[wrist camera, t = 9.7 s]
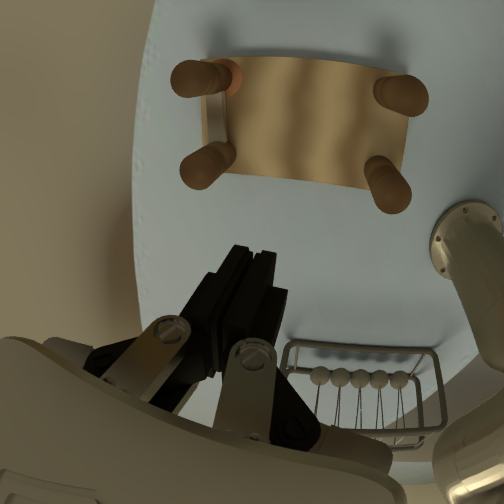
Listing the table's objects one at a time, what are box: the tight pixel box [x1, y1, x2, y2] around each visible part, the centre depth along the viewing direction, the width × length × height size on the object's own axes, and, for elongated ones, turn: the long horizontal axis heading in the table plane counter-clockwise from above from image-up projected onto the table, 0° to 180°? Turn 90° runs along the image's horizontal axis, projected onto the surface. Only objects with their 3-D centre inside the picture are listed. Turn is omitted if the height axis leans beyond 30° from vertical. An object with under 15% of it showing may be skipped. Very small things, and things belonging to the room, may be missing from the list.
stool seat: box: [200, 57, 429, 214], centre depth 25 cm, size 23×14×10 cm, turn 90°
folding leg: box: [170, 60, 236, 190], centre depth 26 cm, size 13×4×7 cm, turn 2°
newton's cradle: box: [279, 340, 448, 452], centre depth 42 cm, size 30×10×18 cm, turn 93°
